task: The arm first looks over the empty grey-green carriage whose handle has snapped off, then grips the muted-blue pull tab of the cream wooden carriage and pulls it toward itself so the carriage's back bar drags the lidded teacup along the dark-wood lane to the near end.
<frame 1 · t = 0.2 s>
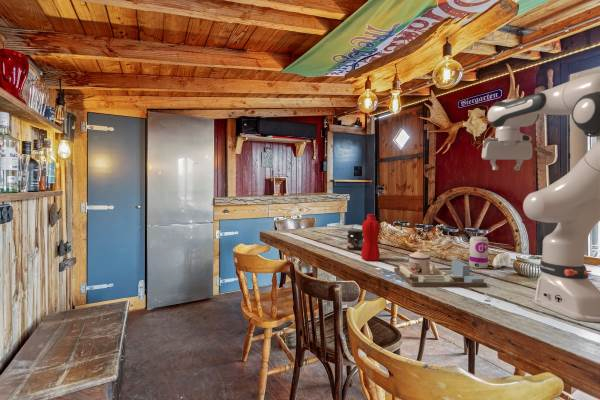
hand: (506, 170, 138), 48 cm above the table, tool pointing down, fingers open, 8 cm apart
broken carriage: (435, 283, 131), resting in lane rails
water bottle: (371, 259, 174), on the table
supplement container: (355, 249, 203), on the table
supplement can: (478, 267, 159), on the table
teacup with lid: (421, 276, 142), resting in carriage
lane rails: (437, 278, 139), on the table
carriage: (434, 269, 142), point 3 cm above the table, slide at 0.0 cm
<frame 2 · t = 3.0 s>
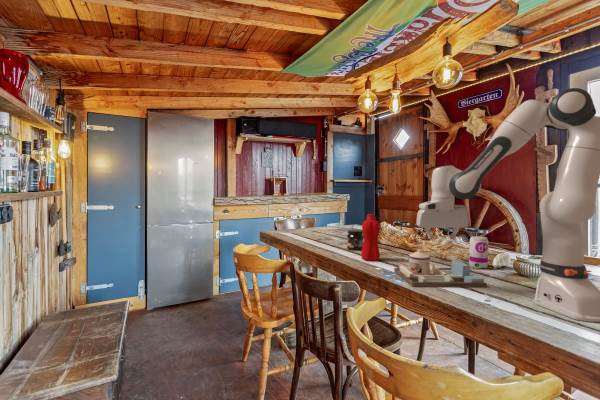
hand: (441, 238, 131), 19 cm above the table, tool pointing down, fingers open, 8 cm apart
nothing on the table moved.
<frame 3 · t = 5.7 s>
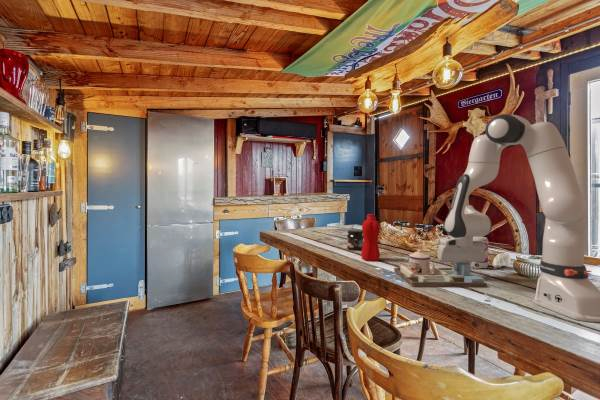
hand: (460, 271, 142), 2 cm above the table, tool pointing down, fingers closed on carriage, 3 cm apart
carriage: (434, 269, 142), point 3 cm above the table, slide at 0.3 cm, touching gripper
everything else where it was.
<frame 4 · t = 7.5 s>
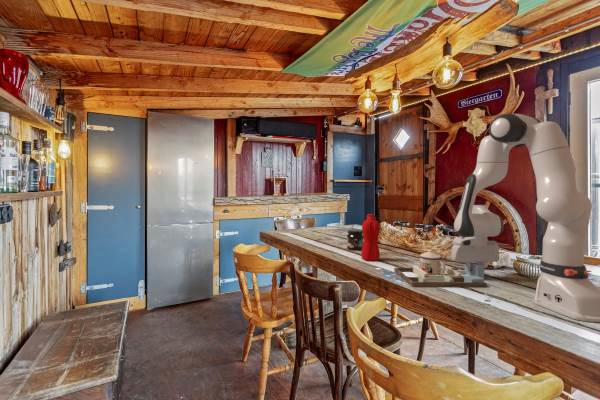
hand: (474, 271, 142), 2 cm above the table, tool pointing down, fingers open, 3 cm apart
teacup with lid: (432, 276, 142), resting in carriage
carriage: (448, 269, 142), point 3 cm above the table, slide at 6.3 cm, touching gripper, teacup with lid
everything else where it was.
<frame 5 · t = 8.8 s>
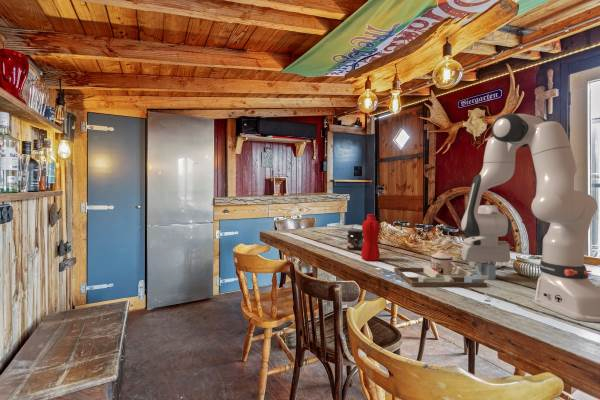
hand: (485, 271, 142), 2 cm above the table, tool pointing down, fingers closed on carriage, 3 cm apart
teacup with lid: (443, 277, 142), resting in carriage
carriage: (459, 269, 142), point 3 cm above the table, slide at 11.2 cm, touching gripper
everything else where it was.
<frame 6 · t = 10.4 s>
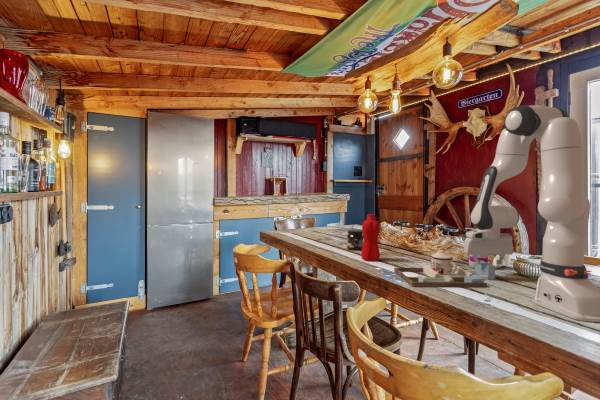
hand: (488, 264, 141), 6 cm above the table, tool pointing down, fingers open, 8 cm apart
carriage: (458, 269, 142), point 3 cm above the table, slide at 11.0 cm
everything else where it was.
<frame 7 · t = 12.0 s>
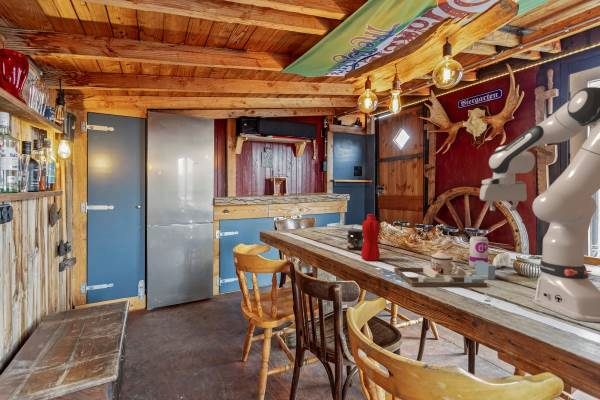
hand: (502, 210, 148), 29 cm above the table, tool pointing down, fingers open, 8 cm apart
nothing on the table moved.
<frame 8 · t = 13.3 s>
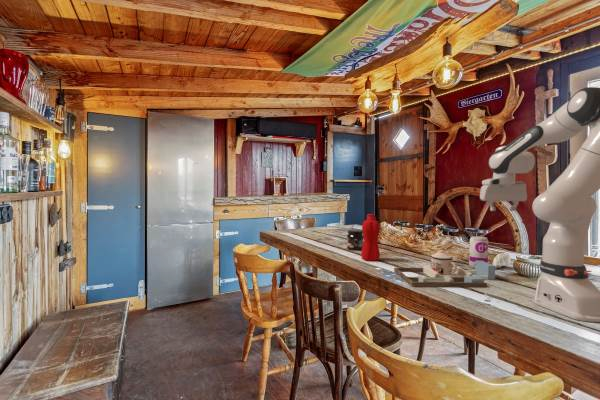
hand: (502, 210, 148), 29 cm above the table, tool pointing down, fingers open, 8 cm apart
nothing on the table moved.
at the end: teacup with lid inside the target area (1.4 cm from its centre), resting in carriage; carriage slide at 11.0 cm; teacup with lid tilted 0° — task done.
